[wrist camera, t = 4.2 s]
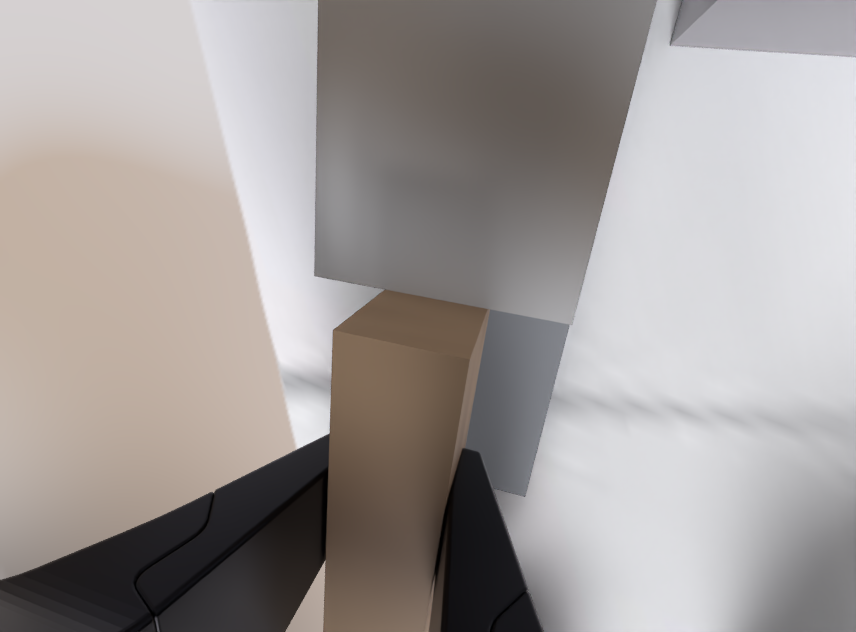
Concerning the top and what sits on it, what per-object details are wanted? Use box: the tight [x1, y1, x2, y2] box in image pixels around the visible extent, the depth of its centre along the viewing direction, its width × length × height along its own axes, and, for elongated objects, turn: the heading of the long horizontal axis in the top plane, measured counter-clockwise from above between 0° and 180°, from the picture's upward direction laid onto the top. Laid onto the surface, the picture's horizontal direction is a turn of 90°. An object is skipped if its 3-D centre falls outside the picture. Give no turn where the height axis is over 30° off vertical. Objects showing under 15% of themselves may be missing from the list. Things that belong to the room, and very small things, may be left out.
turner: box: [314, 0, 657, 632], centre depth 7 cm, size 14×5×3 cm, turn 173°
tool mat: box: [465, 310, 570, 497], centre depth 18 cm, size 22×8×1 cm, turn 173°
